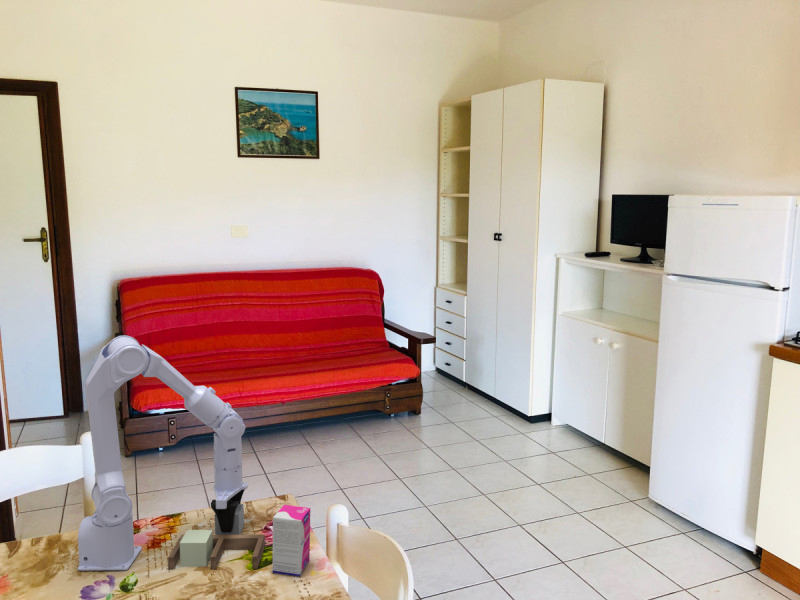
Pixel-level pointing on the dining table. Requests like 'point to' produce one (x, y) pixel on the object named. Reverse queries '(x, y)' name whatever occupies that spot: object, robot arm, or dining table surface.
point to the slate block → (237, 524)
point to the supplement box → (291, 540)
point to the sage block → (196, 548)
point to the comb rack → (226, 548)
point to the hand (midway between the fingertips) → (229, 525)
